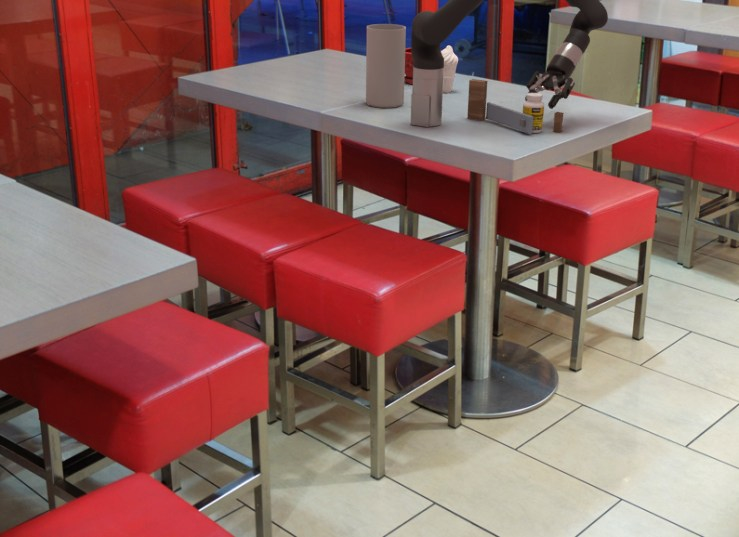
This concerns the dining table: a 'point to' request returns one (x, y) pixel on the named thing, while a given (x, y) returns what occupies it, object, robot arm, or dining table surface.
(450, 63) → the soft serve ice cream cone
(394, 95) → the cylinder vase
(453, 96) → the dining table surface
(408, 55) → the plant pot
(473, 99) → the wooden blocks
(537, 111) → the pill bottle
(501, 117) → the gate
